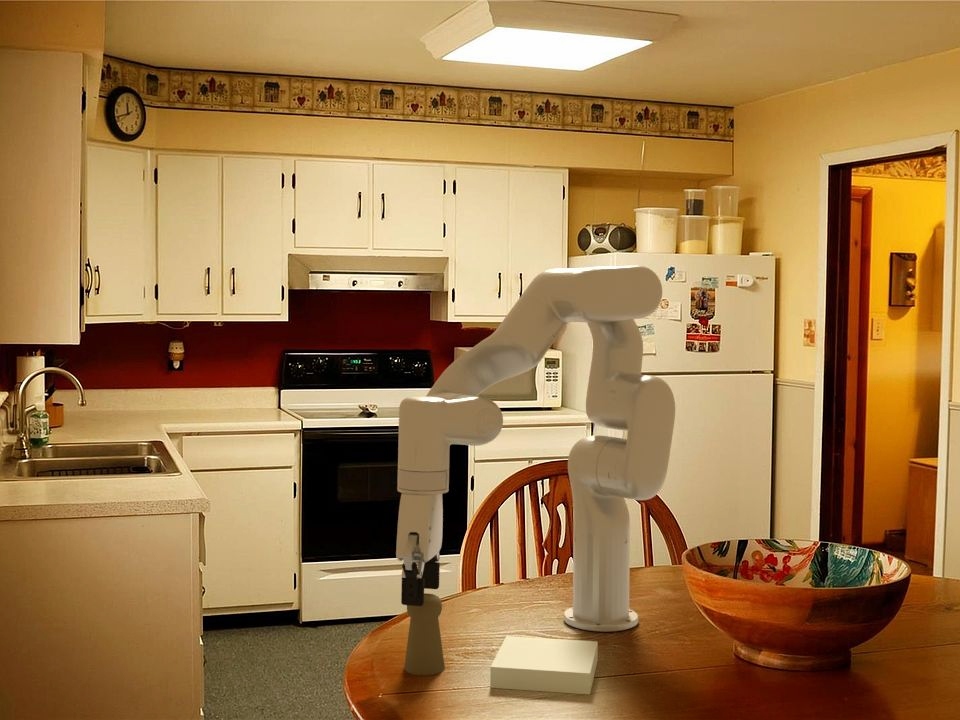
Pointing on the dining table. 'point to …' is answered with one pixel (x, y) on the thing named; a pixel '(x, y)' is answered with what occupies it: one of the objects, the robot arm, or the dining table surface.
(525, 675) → the cream block
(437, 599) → the cork
